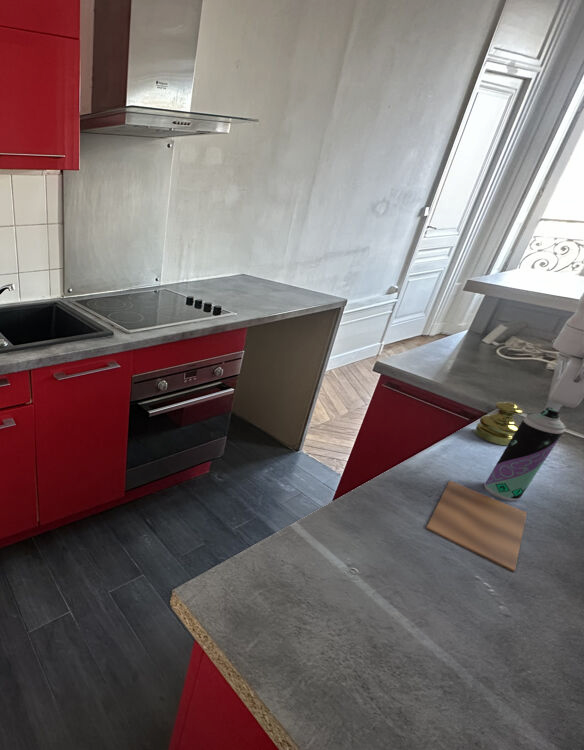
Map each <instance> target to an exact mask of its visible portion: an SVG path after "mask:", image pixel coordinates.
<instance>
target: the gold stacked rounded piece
mask: <svg viewBox="0 0 584 750" xmlns="http://www.w3.org/2000/svg"><path fill="white" fill-rule="evenodd" d="M495 407H496V409H498V412H496V413H491V414H485V415H482V416H481V417H480V419H479V422H478V423H477V424H476V426H475V429H474V430H473V431H474V434H475V435H476V436H477V437H479V438H480V439H482V440H484V441H486V442H489V443H492V444H495V445H499V446H508V444H509V442H510V441H511V439H512V437H513V436H514V434H515V432H516V431H517V429H518V427H519V426H520V424H518V423H517V421H516V420H515V419H514V417H515V416H518V415H522V414H524V412H525V410H524V409H523V408H522V407H521V406H520V405H518V404H517V403H515V402H513V401H498V402H496V403H495Z"/></svg>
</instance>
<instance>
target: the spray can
mask: <svg viewBox="0 0 584 750" xmlns="http://www.w3.org/2000/svg"><path fill="white" fill-rule="evenodd" d="M559 413H560V411H556V410H554V409H553V408H549V407H548V408H546V410H542V411H538V412H534V413H533V412H529V413H527V414H526V416H525V417H523V419H522V420H521V422H520V424H519V427H518V429H517V431H516V432H515V434H514V436H513V437H512V439H511V441H510V442H509V444H508V445H506V447H505V449H504V450H503V452H502V454H501V456H500V457H499V459H498V461H497V463H496V464H495V466H494V468H493V469H492V471H491V472H490V474H489V476H488V477H487V479H486V481H485V483H484V484H483V486H484V489H485V490H486V491H487V492H489V493H490V494H491V495H493V496H495V497H497V498H500V499H501V500H504V501H508V502H517V501H519V500H520V499H521V497H522V496H523V495H524V494H525V492H526V490H527V488H528V487H529V485H530V484H531V482H532V481H533V480H534V478H535V476H536V475H537V473H538V472H539V470H540V469H541V467H542V466H543V464H544V463H545V461H546V460H547V458H548V457H549V455H550V454H551V452H552V451H553V449H554V448H555V446H556V444H557V443H558V441H559V440H560V438H561V437H562V436H563V434H564V433H565V429H566V428H567V425H566V424H565V423H564V422H562V420H561V417H559Z"/></svg>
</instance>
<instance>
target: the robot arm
mask: <svg viewBox="0 0 584 750" xmlns="http://www.w3.org/2000/svg"><path fill="white" fill-rule="evenodd" d="M552 348H553V349H554V350H556V351H558V353H557V355H556V357H557V358H558V360H557V362H556V365H555V367H554V371H553V375H552V379H551V386H550V389H549V393H548V398H547V401H546V403H545V404H544V408H543V411H545V410H546V408H548V407H549V408H553V409H554V410H556V411H558V412H560V409H561V408H562V407H563V406H564V407H566V408H567V407H568V408H571V409H572V408H573V409H574V408H576V407H578V406H579V405H580V404H581V402H582V400H583V399H584V292H583V293H582V295H581V296H580V297H579V300H578V303H577V308H576V310H575V312H574V313H573V315H571V316H570V317H569V318H568V319H567V320H566V322H565V323H564V325H563V327H562V329H561V330H560V332H559V334H558V335H557V336H556V339H555V340H554V342H553V344H552Z"/></svg>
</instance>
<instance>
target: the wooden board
mask: <svg viewBox="0 0 584 750" xmlns="http://www.w3.org/2000/svg"><path fill="white" fill-rule="evenodd" d="M527 514H528V513H527V512H526V511H524V510H521V509H519V508H516V507H514V506H512V505H509V504H507V503H505V502H503V501H500V500H497V499H495V498H492V497H491V496H488V495H485V494H483V493H481V492H479V491H476V490H473V489H471V488H468V487H467V486H464V485H462V484H459V483H456V482H454V481H452V480H449V481H448V482H447V485H446V487H445V489H444V491H443V493H442V495H441V497H440V499H439V500H438V503H437V505H436V507H435V509H434V511H433V513H432V515H431V517H430V519H429V521H428V522H427V525H426V528H425V529H426V530H429V531H430V532H432V533H434V534H435V535H438V536H441V537H443V538H445V539H446V540H449V541H451V542H452V543H455V544H457V545H459V546H461V547H463V548H464V549H467V550H469V551H471V552H473V553H474V554H477V555H479V556H481V557H483V558H485V559H487V560H489V561H491V562H493V563H495V564H496V565H499V566H501V567H503V568H504V569H507V570H509V571H511V572H513V573H514V572H515V571H516V569H517V563H518V558H519V553H520V550H521V549H520V548H521V543H522V539H523V535H524V529H525V526H526V525H525V524H526V519H527Z"/></svg>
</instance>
